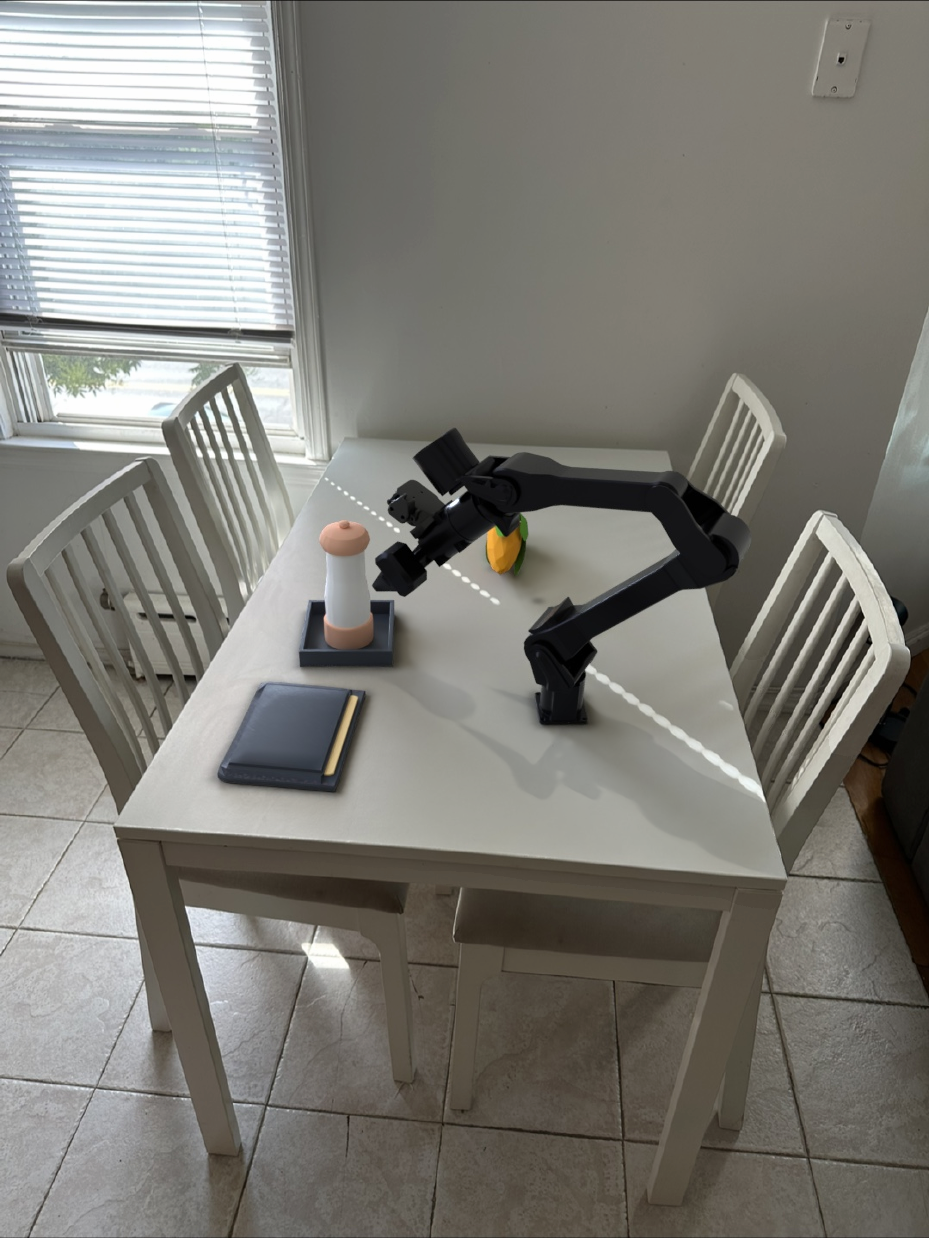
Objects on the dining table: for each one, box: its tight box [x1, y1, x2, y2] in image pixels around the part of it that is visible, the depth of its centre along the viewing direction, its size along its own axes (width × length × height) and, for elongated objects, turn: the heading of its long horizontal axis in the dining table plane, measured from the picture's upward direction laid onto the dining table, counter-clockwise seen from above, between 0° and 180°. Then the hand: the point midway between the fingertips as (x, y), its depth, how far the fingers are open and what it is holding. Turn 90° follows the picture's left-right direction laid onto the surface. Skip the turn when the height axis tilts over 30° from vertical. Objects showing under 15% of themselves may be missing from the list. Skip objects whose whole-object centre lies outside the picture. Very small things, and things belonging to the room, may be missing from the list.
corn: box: [485, 512, 529, 576], centre depth 158 cm, size 7×8×20 cm
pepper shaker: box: [318, 519, 374, 649], centre depth 133 cm, size 7×7×19 cm
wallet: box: [216, 681, 367, 793], centre depth 118 cm, size 20×2×15 cm
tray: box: [298, 599, 395, 667], centre depth 138 cm, size 14×13×3 cm
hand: (392, 573), depth 128 cm, fingers open, 9 cm apart
